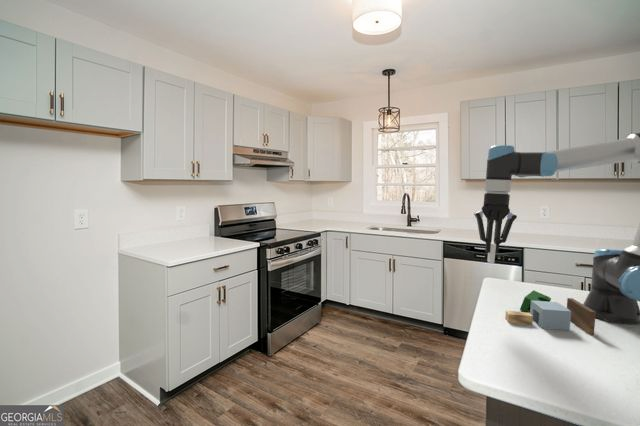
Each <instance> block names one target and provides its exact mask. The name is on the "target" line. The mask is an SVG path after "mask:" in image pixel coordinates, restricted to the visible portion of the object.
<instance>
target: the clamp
mask: <svg viewBox="0 0 640 426" xmlns="http://www.w3.org/2000/svg"><path fill="white" fill-rule="evenodd" d="M531 300H532V301H547V302H552V298H551V297H550V296H548V295H546V294H543V293H541V292H538V291H536V290H534V289H533V290H532V291H531V292H529V293H528V294H526V296H524V298H523V301H522V303H521V306H520V308H519V311H520V312H527V313H529V312H530V306H531ZM528 311H529V312H528Z"/></svg>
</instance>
